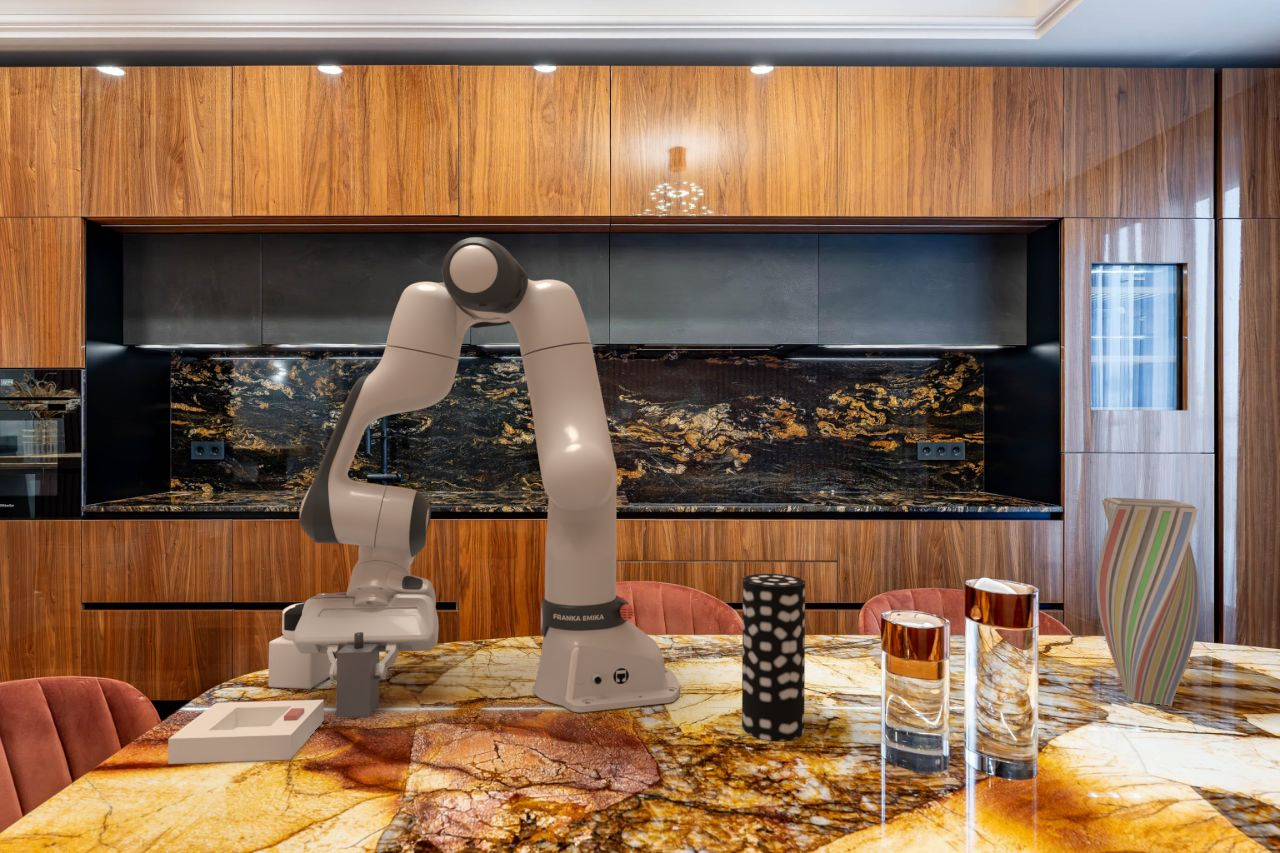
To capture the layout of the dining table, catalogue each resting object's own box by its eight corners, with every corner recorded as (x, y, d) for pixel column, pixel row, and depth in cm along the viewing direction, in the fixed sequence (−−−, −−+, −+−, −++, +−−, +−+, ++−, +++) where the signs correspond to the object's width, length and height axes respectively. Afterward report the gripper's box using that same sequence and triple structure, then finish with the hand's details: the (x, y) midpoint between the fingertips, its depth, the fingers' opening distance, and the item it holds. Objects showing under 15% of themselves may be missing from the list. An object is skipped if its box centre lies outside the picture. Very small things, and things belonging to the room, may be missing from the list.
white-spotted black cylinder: (809, 721, 96) (810, 577, 96) (797, 746, 88) (797, 589, 88) (751, 711, 99) (752, 571, 99) (734, 733, 92) (735, 582, 92)
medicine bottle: (336, 673, 113) (336, 600, 113) (311, 689, 106) (311, 611, 106) (294, 671, 114) (295, 599, 114) (267, 687, 107) (268, 610, 107)
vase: (1105, 707, 101) (1105, 503, 102) (1085, 677, 114) (1085, 495, 114) (1219, 722, 96) (1219, 507, 97) (1185, 689, 109) (1185, 499, 109)
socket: (323, 721, 94) (323, 695, 95) (290, 759, 84) (290, 729, 84) (216, 725, 93) (216, 698, 93) (168, 764, 82) (168, 733, 82)
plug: (378, 704, 101) (379, 628, 101) (369, 716, 96) (370, 637, 96) (346, 705, 100) (347, 629, 100) (336, 717, 96) (337, 638, 96)
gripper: (302, 582, 104) (273, 669, 95) (440, 580, 106) (426, 665, 96) (313, 604, 109) (286, 689, 99) (446, 602, 111) (432, 685, 101)
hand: (357, 677), depth 98 cm, fingers closed on plug, 4 cm apart
